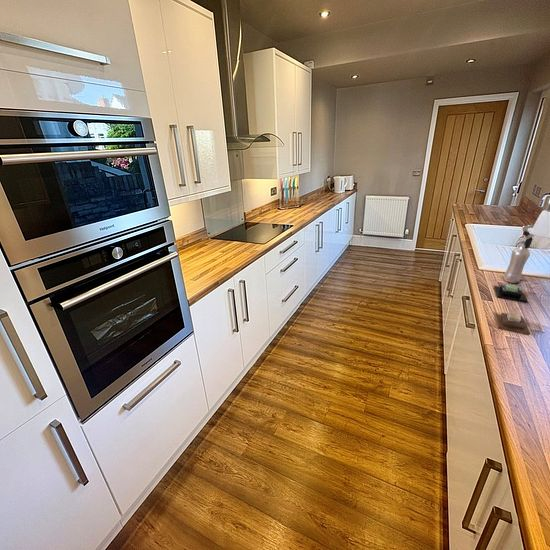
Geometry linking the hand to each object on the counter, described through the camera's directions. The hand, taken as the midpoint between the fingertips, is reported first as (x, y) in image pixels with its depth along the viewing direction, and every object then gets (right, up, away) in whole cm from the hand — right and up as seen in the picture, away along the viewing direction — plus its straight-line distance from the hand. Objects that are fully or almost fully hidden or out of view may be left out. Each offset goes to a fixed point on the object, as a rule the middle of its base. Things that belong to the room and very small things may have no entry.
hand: (541, 251), depth 117 cm
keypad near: (-19, -29, -8) cm, 35 cm away
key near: (-19, -26, -9) cm, 34 cm away
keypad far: (-3, -19, +12) cm, 22 cm away
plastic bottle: (+7, -13, +24) cm, 28 cm away
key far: (-3, -16, +11) cm, 20 cm away
